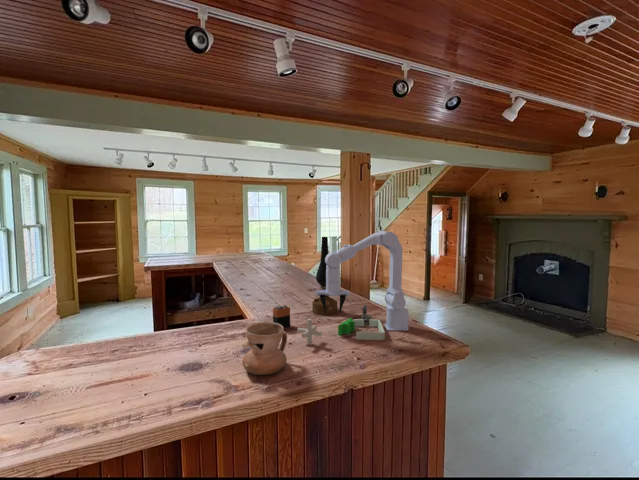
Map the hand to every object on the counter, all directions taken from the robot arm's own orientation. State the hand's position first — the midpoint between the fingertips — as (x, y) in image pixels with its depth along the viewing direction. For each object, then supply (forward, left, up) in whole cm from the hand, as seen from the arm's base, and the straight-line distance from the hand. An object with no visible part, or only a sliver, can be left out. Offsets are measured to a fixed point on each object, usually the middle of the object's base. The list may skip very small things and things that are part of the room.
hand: (332, 312), depth 139 cm
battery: (+23, -5, -9) cm, 25 cm away
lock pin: (-16, -14, -8) cm, 22 cm away
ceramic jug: (+22, +33, -9) cm, 41 cm away
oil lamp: (+4, -29, -9) cm, 31 cm away
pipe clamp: (-7, 0, -9) cm, 11 cm away
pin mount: (-16, -11, -9) cm, 21 cm away
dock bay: (-16, 0, -9) cm, 18 cm away
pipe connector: (+9, +13, -9) cm, 18 cm away
